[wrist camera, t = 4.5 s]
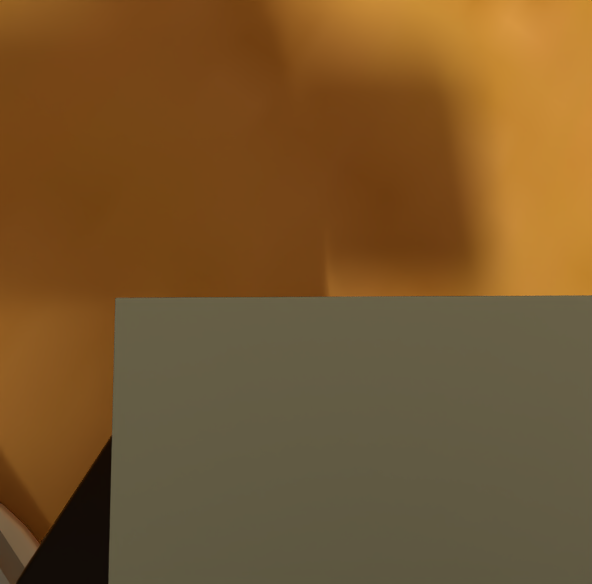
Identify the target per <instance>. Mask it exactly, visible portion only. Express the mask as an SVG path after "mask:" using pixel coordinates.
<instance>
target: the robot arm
mask: <svg viewBox="0 0 592 584" xmlns="http://www.w3.org/2000/svg"><path fill="white" fill-rule="evenodd" d="M111 459H112V436H111V437H110V439H109V440H108V442H107V443H106V445H105V446H104V448H103V449H102V451H101V452H100V454H99V455H98V457H97V458H96V460H95V461H94V463H93V465H92V466H91V468H90V469H89V471H88V472H87V474H86V475H85V477H84V478H83V480H82V481H81V483H80V484H79V486H78V487H77V489H76V490H75V492H74V494H73V495H72V497H71V498H70V500H69V501H68V503H67V504H66V506H65V507H64V509H63V510H62V512H61V513H60V515H59V516H58V518H57V519H56V521H55V523H54V524H53V526H52V527H51V529H50V530H49V532H48V533H47V535H46V536H45V538H44V539H43V541H42V542H41V544H40V545H39V547H38V548H37V550H36V552H35V553H34V555H33V556H32V558H31V559H30V561H29V562H28V564H27V565H26V567H25V568H24V570H23V571H22V573H21V574H20V576H19V578H18V579H17V581H16V582H15V584H108V582H109V541H110V500H111Z"/></svg>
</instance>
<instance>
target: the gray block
mask: <svg viewBox="0 0 592 584" xmlns="http://www.w3.org/2000/svg"><path fill="white" fill-rule="evenodd" d="M108 584H592V296H394V297H182V298H115V336H114V377H113V418H112V459H111V500H110V541H109V582H108Z"/></svg>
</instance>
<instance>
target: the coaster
mask: <svg viewBox="0 0 592 584" xmlns="http://www.w3.org/2000/svg"><path fill="white" fill-rule="evenodd" d="M39 545H40V544H39V542H38V541H37V540H36V539H35V537H34V536H33V535H32V533H31V532H30V531H29V530H28V528H27V527H26V526H25V525H24V524H23V523H22V522H21V521H20V520H19V519H18V518H17V517H16V516H15V515H14V514H13V513H12V512H10V511H9V510H8V509H7V508H6V507H5V506H4V505H2V504H1V503H0V584H15V582H16V581H17V579H18V578H19V576H20V574H21V573H22V571H23V570H24V568H25V567H26V565H27V564H28V562H29V561H30V559H31V558H32V556H33V555H34V553H35V552H36V550H37V548H38V547H39Z"/></svg>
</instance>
